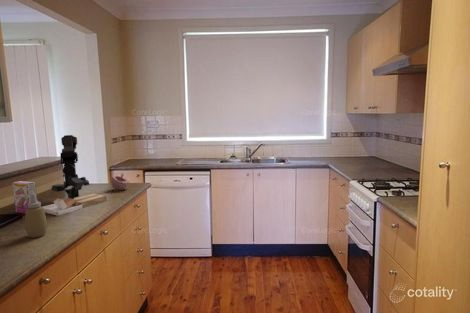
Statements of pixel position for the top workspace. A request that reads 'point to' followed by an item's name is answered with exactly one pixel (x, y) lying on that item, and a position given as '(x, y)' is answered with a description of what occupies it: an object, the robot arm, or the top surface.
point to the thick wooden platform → (89, 200)
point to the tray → (55, 211)
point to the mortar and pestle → (119, 182)
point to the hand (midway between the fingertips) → (72, 200)
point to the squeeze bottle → (35, 219)
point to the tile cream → (60, 204)
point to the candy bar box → (23, 195)
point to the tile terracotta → (69, 202)
